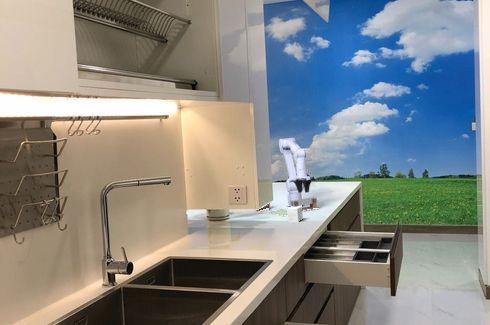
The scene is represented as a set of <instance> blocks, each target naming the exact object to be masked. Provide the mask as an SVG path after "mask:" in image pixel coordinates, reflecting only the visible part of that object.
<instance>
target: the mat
mask: <svg viewBox="0 0 490 325" xmlns="http://www.w3.org/2000/svg"><path fill="white" fill-rule="evenodd" d="M279 209H280V210H278V209H276V210H277V211H271V210H270V211H271V212H273V213H276V214H279V215H278V216H280V215H283V216H282V217H285V216H284V215H288V214H287V209H285V208H279ZM273 213H272V214H273ZM276 214H275V215H276Z"/></svg>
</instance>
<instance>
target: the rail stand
mask: <svg viewBox="0 0 490 325" xmlns="http://www.w3.org/2000/svg"><path fill="white" fill-rule="evenodd" d="M313 202H314V203H312V204H309V206H303V207H302V211H303V210H307V209H313V208H319V209H320V207H318V206H317V204H318V202H317V203H316V199H313ZM292 207H298V202H295V206H292Z"/></svg>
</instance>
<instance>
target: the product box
mask: <svg viewBox="0 0 490 325" xmlns="http://www.w3.org/2000/svg"><path fill="white" fill-rule="evenodd" d="M302 208H303V207H288V208H286V210H287V214H288V216H287V222H288V223H300V222H301V221H300V220H302V219H303V220H304V217H303V216H304V215H303V212H302ZM303 220H302V221H303ZM299 221H300V222H299Z"/></svg>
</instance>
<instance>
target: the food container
mask: <svg viewBox="0 0 490 325" xmlns="http://www.w3.org/2000/svg"><path fill="white" fill-rule="evenodd" d="M266 208H270V209H271V202H270V203H269V204H267V205H266V206H264V207H263V208H261V209H259V210H256V209H255V211H260V210H263V209H266Z"/></svg>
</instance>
